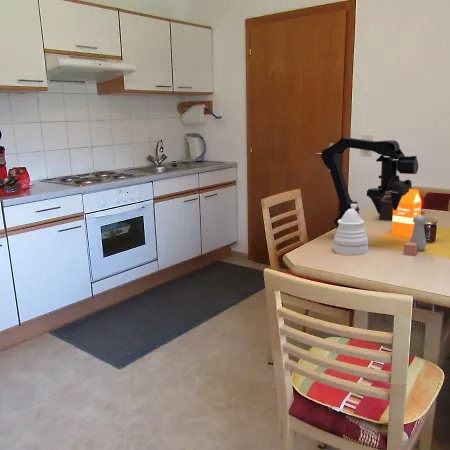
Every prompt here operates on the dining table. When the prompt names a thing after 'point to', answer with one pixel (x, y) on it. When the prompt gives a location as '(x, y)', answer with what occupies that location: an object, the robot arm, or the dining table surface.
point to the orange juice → (406, 214)
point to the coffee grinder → (387, 209)
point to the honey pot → (351, 234)
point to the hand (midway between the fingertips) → (387, 211)
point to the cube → (410, 248)
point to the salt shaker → (419, 232)
